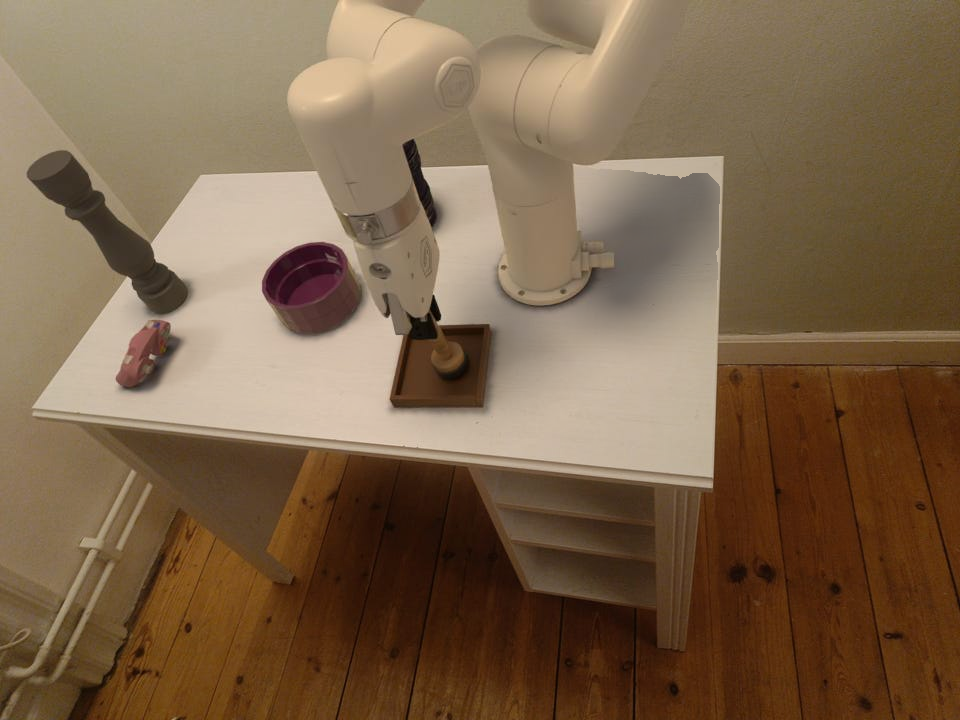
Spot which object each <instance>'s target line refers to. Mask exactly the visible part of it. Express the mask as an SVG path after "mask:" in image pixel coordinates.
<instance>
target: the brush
mask: <svg viewBox="0 0 960 720" xmlns="http://www.w3.org/2000/svg"><path fill="white" fill-rule="evenodd" d="M428 313H431V311H430V309H429V311H428ZM431 316H432V319H433V321H434V324H435V327H436V329H437V332H438V338H437V339H429V341H430V342H431V344H432V346H433V347H434V351H433V353H432V355H431V361H432V363H433V368H434V370H435V371H436V373H437V375H438V376H439V377H440V378H442V379H444V380H455V379H457V378H459V377H461V376H462V375H463V374H464V373H465V372H466V371H467V369H468V367H469V358H468V356H467V354H466V352H465V350H464V349H463V348H462V347H461V346H460V345H459V344H458V343H456V342H448V341H447V340H446V338H445V336H444V334H443V332H442V331H441V329H440V327H439V325H440V324H438V322H436V320H435V318H434V316H433V315H432V313H431Z"/></svg>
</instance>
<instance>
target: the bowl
mask: <svg viewBox="0 0 960 720" xmlns="http://www.w3.org/2000/svg"><path fill="white" fill-rule="evenodd" d="M349 260H350V259H349V258H348V256H347V255H346V253H345V252H344V250H343V249H342V248H340V247H339V246H337V244H334V243H331V242H325V241H314V242H312V241H311V242H306V243H303V244H300V245H296V246H294V247H293V248H291V249H288V250H287V251H285V252H283V253H282V254H280V255H279V256H277V258H275V259H274V260H273V262H272V263H271V264H270V265H269V267H268V268H267V269H266V271H265V273H264V275H263V278H262V280H261V293H262V294H263V297H264V299H265V300H266V302H267V303H268V305H269V306H270V308H271V309H272V310H273V312H274V313H275V315H276V316H277V318H278V319H279V320H280V322H281V324H282V325H284V326H285V327H286V328H287V329H289V330H290V331H292V332H295V333H299V334H317V333H321V332H324V331H325V332H326V331H328V330H330V329H332V328H334V327H336V326H338V325H340V324H341V323H343V321H345V320H346V319H347V318H348V317H350V315H351V314H352V313H353V312H354V310H355V308H357V305H359V303H360V302H359V301H360V297H361V295H362V290H361V283H360V280H359V279H358V276H357V275H356V273H355V271H354V268H353V266H352V264H351V262H350V261H349Z"/></svg>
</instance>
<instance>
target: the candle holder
mask: <svg viewBox="0 0 960 720" xmlns="http://www.w3.org/2000/svg"><path fill="white" fill-rule="evenodd" d="M25 173H26V177H27V179H28V180H29V181H30V182H31V183H32V184H33V185H34V186H35V188H36V189H38V191H39V192H40V193H41V194H42V195H43V196H44V197H45V198H46V199H47V200H49V201H52V202H53V203H55V204H57V205H59V206H62V207H63V208H64V215H65V216H66V217H67V218H68V219H71V220H72V221H77V222H79V223H80V224H81V225H82V226H83V227H84V229H85V230H86V231H87V232H89V234H90V235H91V236H92V238H93V239H94V241H95V243H96V244H97V246H98V248H99V250H100V252H101V253H102V256H103V257H104V259H105V261H106V263H107V265H108V266H109V268H111V270H113V271H114V272H116V273H117V274H119V275H121V276H124V277H127V278H129V279H130V280H131V287H132V289H133V290H134V291H135V292H136V295H137V297H138V298H139V300H141V301H142V302H143V304H144V305H145V306H146V307H148V309H149V310H150V311H151V312H153V313H154V314H156V315H157V314H159V315H164V314H168V313H171V312H173V311H174V310H177V309H178V308H179V307H180V306H182V304H184V303H185V301H186V300H187V298H188V294H189V290H188V288H187V285H186V284H185V283H184V282H183V280H182V279H181V278H179V276H178V275H177V274H176V272H174V271H173V270H172V269H170V268H169V267H168V266H167V265H166V264H164V263H162V262H158V261H157V260H156V258H155V252H154V249H153V247H152V245H151V243H150V242H149V241H148V240H147V239H145V238H144V237H143V236H141V235H140V234H138V233H137V232H136V231H134V230H133V229H132V228H130V227H129V226H127V225H126V224H125V223H123V222H122V221H120V220H119V218H117V216H116V215H115V214H114V213H113V212H112V210H110V208H109V207H108V206H107V205H106V197H105V194H104V193H103V192H102V191H100V190H97V189H96V190H95V189H94V188H93V186H92V180H91V178H90V175H89V173H88V171H87V170H86V169H85V168H84V167H83V166H82V164H81V163H80V162H79V160H78V159H77V158H76V157H75V156H74V154H72V152H71V151H69V150H66V149H62V150H61V149H60V150H55V151H52V152H49V153H47V154H45V155H42V156H41V157H40V158H38V159H37V160H35V161H34V162H32V164H31V165H30V166H29V167H28V168H27V171H26V172H25Z"/></svg>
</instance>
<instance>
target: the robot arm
mask: <svg viewBox="0 0 960 720" xmlns="http://www.w3.org/2000/svg"><path fill="white" fill-rule="evenodd" d="M689 2H690V0H524V7H525V13H526V15H527V17H528V19H529V20H530V22H531V24H532V25H534V27H536V28H537V29H538V30H539V31H542V32H543V33H545V34H547V35H550V36H552V37H554V38H557V39H560V40H563V41H566V42H570V43H573V44H576V45H580V46H583V47H586V48H590V49H593V51H592V53H591V54H589V53H585V52H581V51H578V50H575V49H571V48H568V47H564V46H562V45H559V44H556V43H552V42H550V41H549V42H548V41H544V40H541V39H538V38H535V37H530V36H526V35H520V34H501V35H498V36H494V37H492V38H489V39H487V40H485V41H484V42H483V43H482V44H480V45H479V46H478V47H477V48H476V49H475V47H474V46H473V44H472V43H471V42H470V41H469V40H468V39H467V38H466V37H465V36H464V35H462V34H460V33H459V32H457V31H456V30H453V29H451V28H449V27H446V26H444V25H440V24H437V23H434V22H430V21H427V20H423V19H421V18H418V17H415V15H416V14H417V12H418V10H419V8H420V7H421V6H422V5H423V3H425V0H338V2H337V4H336V7H335V8H334V12H333V14H332V17H331V20H330V23H329V28H328V32H327V38H326V58H327V59H325V60H322V61H318V62H317V63H315V64H313V65H311V66H309V67H307V68H305V69H304V70H303V71H301V72H300V73H299V74H298V75H296V77H295V78H294V79H293V80H292V82H291V83H290V85H289V87H288V89H287V90H288V91H287V95H286V105H287V110H288V113H289V116H290V117H291V120H292V122H293V124H294V127H295V129H296V130H297V133H298V135H299V137H300V139H301V141H302V143H303V146H304V148H305V150H306V151H307V154H308V156H309V158H310V160H311V162H312V164H313V166H314V169H315V171H316V173H317V176H318V177H319V179H320V181H321V184H322V186H323V188H324V190H325V192H326V194H327V196H328V198H329V201H330V202H331V205H332V208H333V209H334V211H335V213H336V215H337V218H338V220H339V222H340V224H341V226H342V228H343V230H344V232H345V235H347V237H348V238H349V239H350V240H352V242H353V248H354V251H355V254H356V257H357V260H358V263H359V266H360V270H361V272H362V275H363V278H364V280H365V283H366V286H367V288H368V290H369V293H370V296H371V297H372V299H373V302H374V305H375V306H376V308H377V309H378V311H379V313H380V314H381V316H382V317H383V318H385V319H389V317H391V322H392V327H393V330H394V334H395V336H403V335H408V334H409V336H410V338H411V339H413V340H426V339H437V338H438V332H437V329H436V327H435V324H434V321H433V319H432V316H431V313H432V315H433V316H434V318H435V320H436V322H437V323H438V322H440V321H441V320H442V313H441V311H440V307H439V304H438V301H437V299H436V296H435V294H434V291H435V285H436V280H437V274H438V270H439V264H440V257H441V256H440V248H439V244H438V242H437V239H436V237H435V233H434V231H433V227H432V228H431V225H430V223H429V220H428V218H427V215H426V213H425V210H424V208H423V206H422V204H421V202H420V199H419V197H418V194H417V190H416V187H415V184H414V181H413V178H412V175H411V172H410V169H409V165H408V162H407V159H406V156H405V153H404V150H403V146H402V145H403V144H404V143H405V142H407V141H409V140H411V139H414V140H415V139H417V138H418V137H421V136H423V135H425V134H427V133H430V132H432V131H434V130H437V129H439V128H441V127H443V126H445V125H447V124H449V123H451V122H453V121H454V120H455V119H457V118H459V116H460V115H462V114H463V113H464V112H465V111H466V110H467V114H468V118H469V119H470V122H471V124H472V127H473V129H474V132H475V134H476V136H477V138H478V140H479V142H480V145H481V147H482V150H483V153H484V157H485V160H486V164H487V167H488V172H489V176H490V182H491V186H492V187H491V188H492V192H493V197H494V202H495V209H496V212H497V218H498V222H499V227H500V232H501V238H502V242H503V247H504V253H503V255H502V257H501V259H500V260H499V264H498V268H497V269H498V270H497V274H498V279H499V283H500V285H501V287H502V289H503V290H504V292H505V293H506V294H507V295H508V296H509V297H510V298H512V299H514V300H515V301H517V302H520V303H522V304H525V305H531V306H541V307H542V306H543V307H544V306H551V305H556V304H560V303H563V302H565V301H568V300H570V299H571V298H573V297H574V296H576V295H578V294H579V293H580V292H581V290H583V289H584V287H585V286H586V285H587V284H588V282H589V279H590V277H591V273H592V268H600V269H609V268H611V269H612V268H615V252H605V241H594V242H587V240H582V231H581V230H578V222H577V207H576V206H577V205H576V191H575V175H574V173H575V172H574V165H578V166H585V167H586V166H593V165H597V164H599V163H601V162H602V161H605V159H607V158H608V156H609V155H611V154H612V153H613V151H614V150H615V149H616V147H617V146H618V145H619V143H620V142H621V140H622V139H623V137H624V135H625V133H626V132H627V131H628V129H629V127H630V125H631V123H632V121H633V119H634V118H635V116H636V114H637V112H638V110H639V108H640V107H641V105H642V103H643V102H644V99H645V97H646V96H647V94H648V92H649V90H650V88H651V87H652V86H653V85H652V84H653V83H654V81H655V79H656V78H657V76H658V73H660V70H661V68H662V67H663V65H664V62H665V61H666V59H667V57H668V55H669V54H670V51H671V50H672V48H673V45H674V44H675V42H676V40H677V38H678V35H679V33H680V31H681V29H682V26H683V24H684V20H685V17H686V14H687V11H688V7H689ZM590 253H592V254H590ZM429 309H430V311H431V313H428V311H429Z"/></svg>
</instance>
